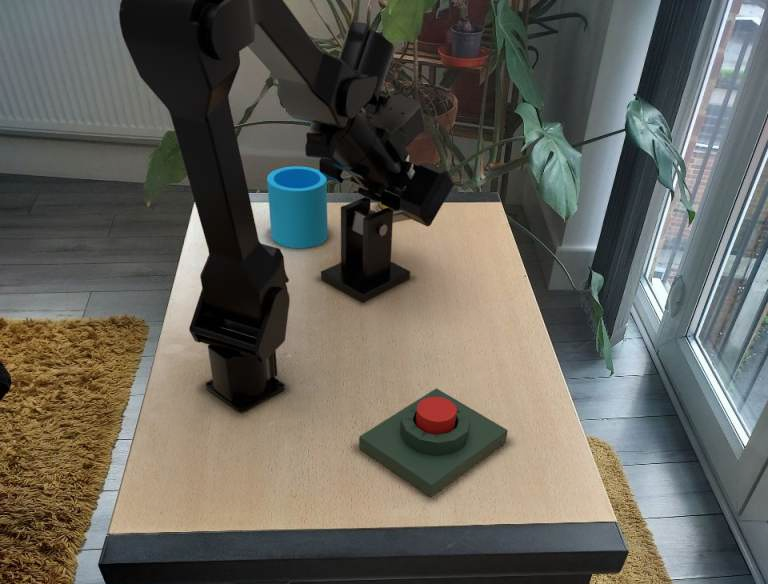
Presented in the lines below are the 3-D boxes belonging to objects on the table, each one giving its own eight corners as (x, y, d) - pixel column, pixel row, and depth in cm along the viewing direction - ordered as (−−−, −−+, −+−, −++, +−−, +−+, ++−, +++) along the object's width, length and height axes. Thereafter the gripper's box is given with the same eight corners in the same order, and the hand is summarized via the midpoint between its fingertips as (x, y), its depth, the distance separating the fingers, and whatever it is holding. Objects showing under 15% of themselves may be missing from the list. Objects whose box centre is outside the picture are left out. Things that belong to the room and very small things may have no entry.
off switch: (430, 497, 77) (433, 471, 74) (358, 448, 82) (359, 422, 79) (505, 442, 83) (510, 416, 81) (435, 400, 88) (437, 374, 85)
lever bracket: (368, 257, 110) (369, 188, 103) (410, 279, 106) (414, 208, 99) (320, 279, 105) (318, 208, 98) (362, 303, 102) (364, 230, 95)
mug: (331, 246, 112) (330, 189, 106) (274, 250, 111) (270, 192, 105) (320, 209, 120) (318, 154, 114) (266, 211, 119) (262, 156, 113)
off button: (437, 440, 78) (438, 426, 77) (407, 422, 80) (408, 408, 79) (463, 422, 80) (464, 409, 79) (433, 405, 82) (435, 391, 81)
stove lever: (398, 214, 108) (401, 196, 107) (431, 229, 106) (434, 211, 104) (341, 224, 101) (343, 206, 100) (374, 241, 99) (377, 222, 97)
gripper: (451, 100, 86) (500, 174, 100) (334, 58, 95) (393, 131, 108) (398, 192, 88) (453, 252, 101) (288, 142, 96) (352, 204, 110)
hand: (412, 206), depth 105 cm, fingers closed
